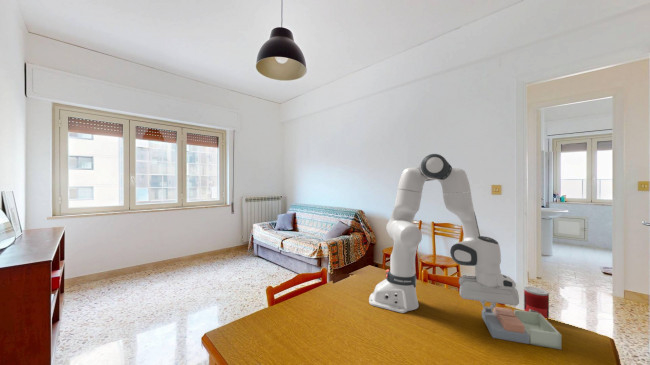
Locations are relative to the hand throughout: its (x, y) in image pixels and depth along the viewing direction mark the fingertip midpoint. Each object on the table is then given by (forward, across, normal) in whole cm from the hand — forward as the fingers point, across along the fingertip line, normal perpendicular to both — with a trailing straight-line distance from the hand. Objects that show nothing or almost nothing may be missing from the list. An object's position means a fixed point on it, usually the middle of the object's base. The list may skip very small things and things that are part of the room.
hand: (487, 312), depth 102 cm
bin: (+4, +14, -4) cm, 16 cm away
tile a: (+1, +6, 0) cm, 6 cm away
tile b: (+1, +6, -7) cm, 9 cm away
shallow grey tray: (+4, +4, -4) cm, 7 cm away
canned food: (+5, +21, +13) cm, 25 cm away
